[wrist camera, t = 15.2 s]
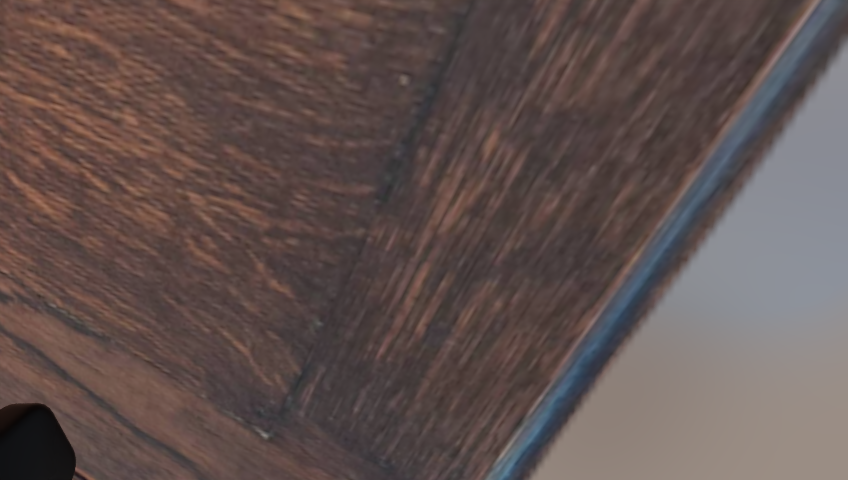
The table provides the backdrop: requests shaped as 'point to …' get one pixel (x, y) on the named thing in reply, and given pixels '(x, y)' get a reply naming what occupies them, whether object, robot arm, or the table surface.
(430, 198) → the table surface
